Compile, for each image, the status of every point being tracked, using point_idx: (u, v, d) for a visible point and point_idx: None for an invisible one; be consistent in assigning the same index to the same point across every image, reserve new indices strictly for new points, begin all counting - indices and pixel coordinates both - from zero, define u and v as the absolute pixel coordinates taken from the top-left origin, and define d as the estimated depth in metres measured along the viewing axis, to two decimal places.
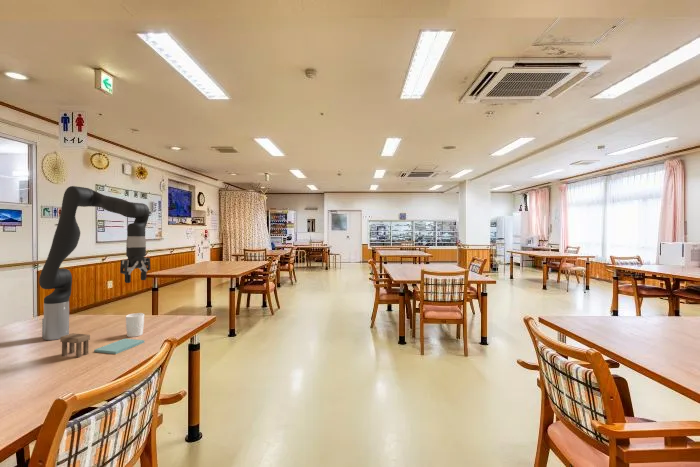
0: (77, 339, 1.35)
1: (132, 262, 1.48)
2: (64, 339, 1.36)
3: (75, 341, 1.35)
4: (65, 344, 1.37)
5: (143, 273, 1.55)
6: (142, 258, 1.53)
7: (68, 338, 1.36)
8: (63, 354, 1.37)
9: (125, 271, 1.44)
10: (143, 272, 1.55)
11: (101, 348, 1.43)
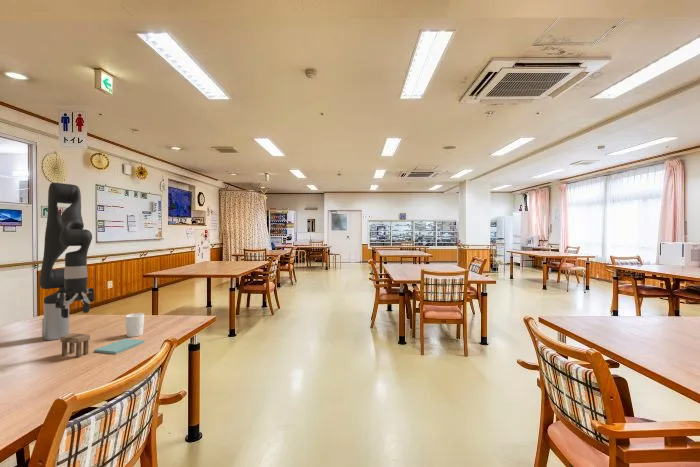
0: (77, 339, 1.35)
1: (70, 295, 1.35)
2: (64, 339, 1.36)
3: (75, 341, 1.35)
4: (65, 344, 1.37)
5: (85, 305, 1.42)
6: (83, 289, 1.40)
7: (68, 338, 1.36)
8: (63, 354, 1.37)
9: (61, 305, 1.31)
10: (85, 304, 1.42)
11: (101, 348, 1.43)
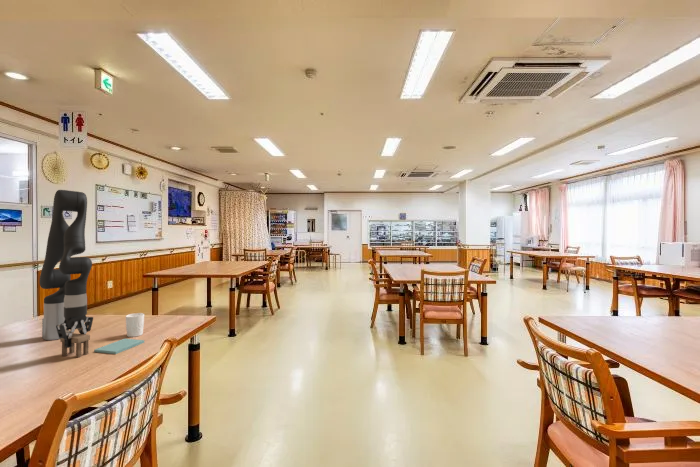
0: (77, 339, 1.35)
1: (70, 325, 1.35)
2: (64, 339, 1.36)
3: (75, 341, 1.35)
4: None
5: None
6: (84, 316, 1.40)
7: None
8: (63, 354, 1.37)
9: (64, 336, 1.32)
10: None
11: (101, 348, 1.43)
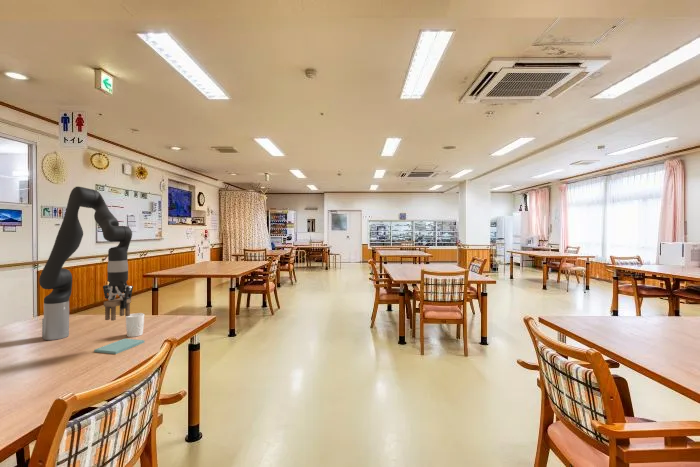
0: None
1: (110, 287, 1.46)
2: None
3: None
4: None
5: None
6: (120, 283, 1.45)
7: None
8: None
9: (105, 296, 1.46)
10: None
11: (101, 348, 1.43)
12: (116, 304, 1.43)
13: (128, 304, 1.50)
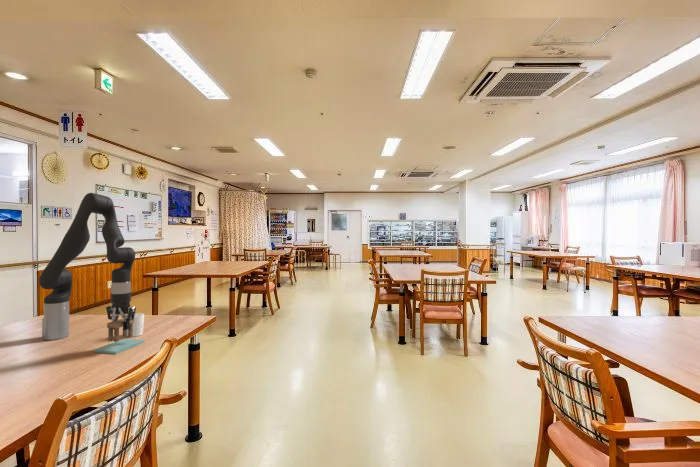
0: None
1: (113, 308, 1.47)
2: None
3: None
4: None
5: None
6: (124, 305, 1.46)
7: None
8: None
9: (108, 317, 1.48)
10: None
11: (101, 348, 1.43)
12: (119, 325, 1.44)
13: (131, 324, 1.51)
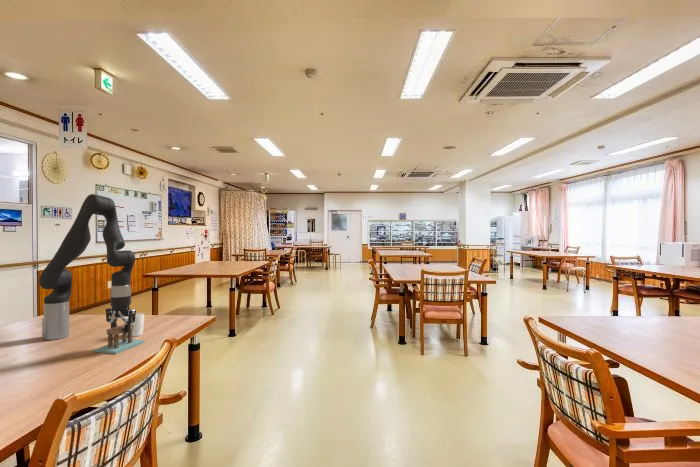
0: None
1: (112, 311, 1.47)
2: None
3: None
4: None
5: None
6: (123, 308, 1.46)
7: None
8: None
9: (107, 319, 1.48)
10: None
11: (101, 348, 1.43)
12: (119, 332, 1.44)
13: (131, 331, 1.51)
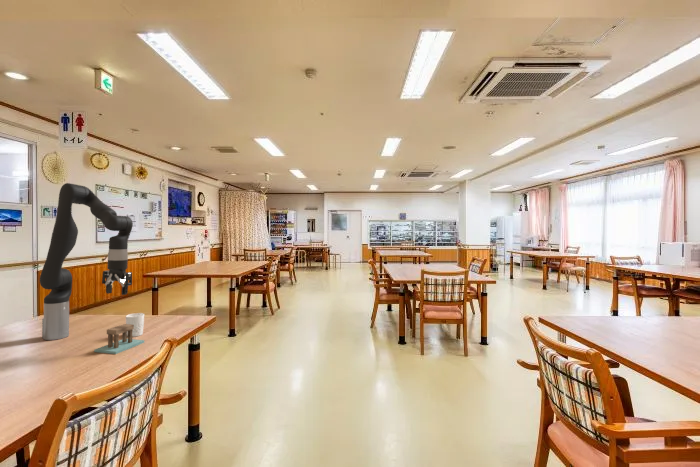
0: None
1: (109, 274, 1.51)
2: None
3: None
4: None
5: None
6: (119, 272, 1.50)
7: None
8: None
9: (102, 281, 1.52)
10: None
11: (101, 348, 1.43)
12: (119, 332, 1.44)
13: (131, 331, 1.51)
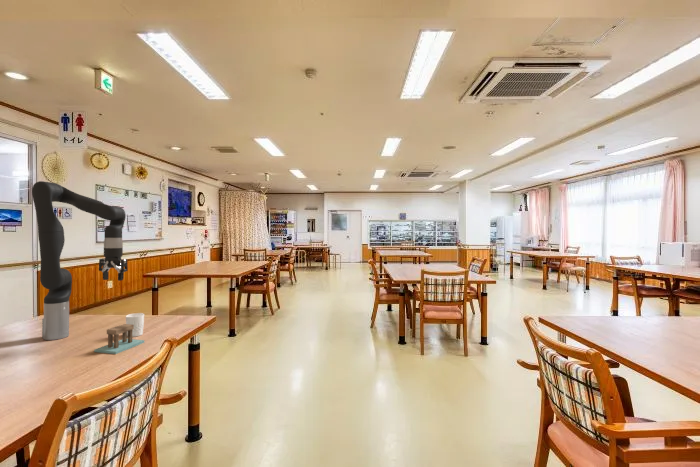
0: None
1: (105, 261, 1.60)
2: None
3: None
4: None
5: None
6: (115, 259, 1.59)
7: None
8: None
9: (99, 268, 1.60)
10: None
11: (101, 348, 1.43)
12: (119, 332, 1.44)
13: (131, 331, 1.51)
